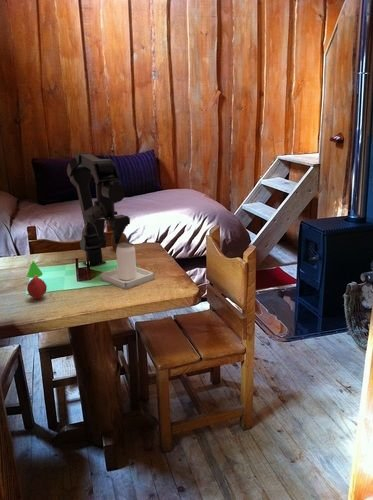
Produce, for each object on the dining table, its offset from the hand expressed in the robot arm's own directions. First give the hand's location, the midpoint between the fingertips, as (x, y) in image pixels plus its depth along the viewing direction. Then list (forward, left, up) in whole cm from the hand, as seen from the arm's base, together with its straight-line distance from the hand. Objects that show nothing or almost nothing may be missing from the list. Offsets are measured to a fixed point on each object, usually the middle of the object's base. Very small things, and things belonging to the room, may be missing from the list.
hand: (108, 241), depth 161 cm
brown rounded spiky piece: (-22, +21, -13) cm, 33 cm away
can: (+7, +2, -13) cm, 15 cm away
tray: (+7, +2, -13) cm, 15 cm away
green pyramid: (-22, -18, -13) cm, 31 cm away
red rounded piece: (-1, -28, -13) cm, 31 cm away
